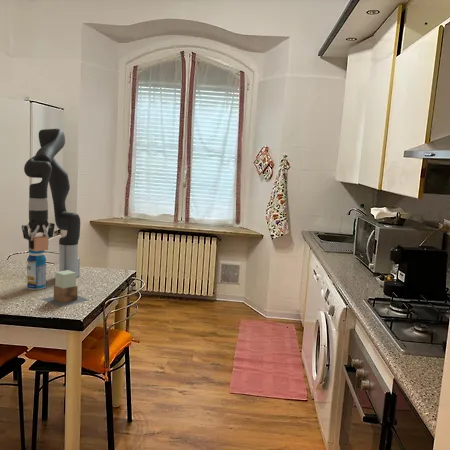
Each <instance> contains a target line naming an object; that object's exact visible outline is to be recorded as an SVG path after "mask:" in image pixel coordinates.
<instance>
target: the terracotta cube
mask: <svg viewBox="0 0 450 450" xmlns="http://www.w3.org/2000/svg"><path fill="white" fill-rule="evenodd" d="M33 241H34V249H30V248H29V247H28V250H29V249H30V250H33V251H43V250H44V251H48V250H49V239H48V237H45V236H43V235H42V234H40V235H36V236H35V237H34V240H33Z"/></svg>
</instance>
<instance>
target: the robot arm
mask: <svg viewBox="0 0 450 450" xmlns="http://www.w3.org/2000/svg"><path fill="white" fill-rule="evenodd" d="M38 141H39V145H40V148H39V149H38V150H37V152H36V153H35V155H34V156H32V157H30V158H29V159H28V160H27V161H26V162H25V164H24V167H23V170H24V175H25V176H27V177H28V178H35V179H36V178H37V179H41V181H40V182H36V183H31V184H30V185H29V188H28V189H29V191H28V193H29V195H28V197H29V198H28V223H27V224H23V225H21V230H22V236H23V239H25V240H27V241H28V249H29V248H30V249H34V241H33V240H34V237H35V236H37V234H39V233H41V234H40V235H42V236H45V237H48V240H49V239H50V238H53V237H54V232H55V226H56V227H57V229H58V230H61V231H66V235H65V236H62V237H60V238H59V239H58V272H60V271H65V270H69V271H72V272H75V273H76V278H78V277H81V276H80V275H81V274H80V271H81V270H80V268H81V267H80V266H81V265H80V264H81V263H80V261H81V260H80V258H79V240H80V235H81V217H80V216H79V214H78V213H76V212H70V211H67V209H66V207H67V206H66V200H67V197H68V195H69V191H70V189H71V187H70V185H71V184H70V179H69V175H68V172H67V171H66V169H64V167H63V166H62V165H61V164H60V163H59V162H58V161H57V160H56V158H55V156H56V155H57V154H58V153H59V152H60V151H61V150H62V149H63V148H64V146H65V144H66V137H65V133H64V131H63V130H62V129H61V128H45V129H40V130H39V132H38ZM48 187H49V189H50V192H51V197H52V198H51V199H52V203H53V212H54V213H53V214H54V221H55V223H53V222H49V221H48V220H49V201H48ZM47 229H48V230H47ZM29 230H30V231H29Z"/></svg>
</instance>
